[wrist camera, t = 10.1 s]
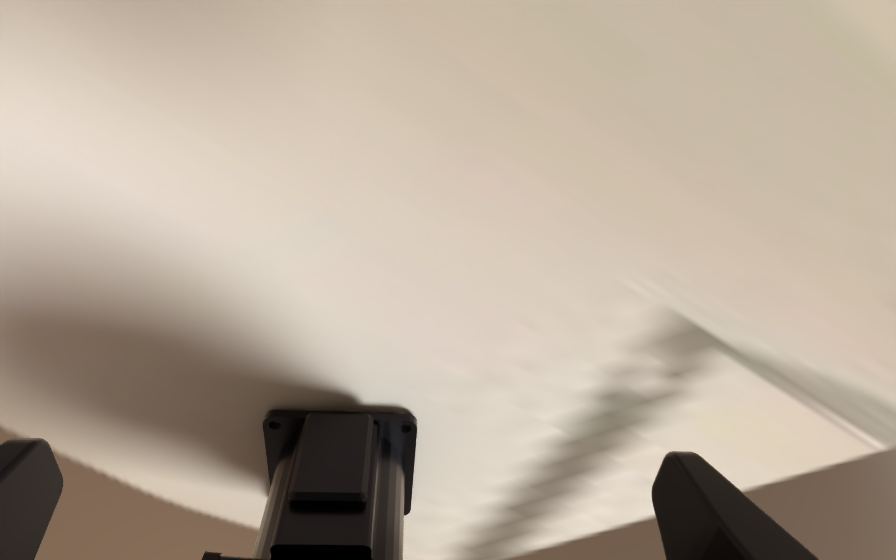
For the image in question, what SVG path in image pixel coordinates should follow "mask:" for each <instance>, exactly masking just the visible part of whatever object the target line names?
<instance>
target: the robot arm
mask: <svg viewBox="0 0 896 560" xmlns="http://www.w3.org/2000/svg"><path fill="white" fill-rule="evenodd" d="M274 421H277V422H279V423H276V422H274ZM402 425H409V426H402ZM263 430H264V438H265V446H266V454H267V462H268V470H269V478H270V486H271V488H270V492H269V496H268V499H267V503H266V507H265V511H264V514H263V518H262V522H261V525H260V529H259V533H258V537H257V540H256V544H255V548H254V551H253V556H252V558H243V557H232V556H222V553H217V552H207V551H206V552H205V553H204V555H203V558H202V560H403V527H404V515H407V514H408V513H409V512H410V510H411V498H412V485H413V473H414V461H415V448H416V436H417V419H416V418H415V417H414V416H413V415H411V414H403V413H367V412H332V411H297V410H272V411H269V412H268V413H267V414H266V415H265V419H264V422H263ZM62 487H63V477H62V474H61V472H60V469H59V467H58V464H57V462H56V460H55V457H54V455H53V452H52V450H51V447H50V445H49V443H48V442H47V441H45V440H44V439H41V438H13V439H10V440H7V441H6V442H3V443H2V444H0V560H34V558H35V556H36V554H37V551H38V549H39V546H40V544H41V541H42V539H43V536H44V534H45V531H46V529H47V527H48V524H49V522H50V520H51V517H52V515H53V512H54V510H55V507H56V505H57V503H58V500H59V498H60V495H61V492H62ZM652 502H653V506H654V511H655V515H656V519H657V523H658V527H659V531H660V535H661V540H662V544H663V548H664V552H665V556H666V560H820V559H819V558H818V557H817V556H815V555H814V554H813V553H812V552H811V551H810V550H809V549H807V548H806V547H805V546H804V545H803V544H802V543H800V542H799V541H798V540H797V539H796V538H795V537H793V536H792V535H791V534H790V533H789V532H788V531H786V530H785V529H784V528H783V527H782V526H781V525H780V524H778V523H777V522H776V521H775V520H774V519H773V518H771V517H770V516H769V515H768V514H767V513H765V511H763V510H762V509H761V508H760V507H759V506H757V505H756V504H755V503H754V502H753V501H752V500H750V499H749V498H748V497H747V496H746V495H745V494H744V493H743V492H741V491H740V490H739V489H738V488H737V487H736V486H734V485H733V484H732V483H731V482H730V481H729V480H727V479H726V478H725V477H724V476H723V475H722V474H720V473H719V472H718V471H717V470H716V469H715V468H714V467H712V466H711V465H710V464H709V463H708V462H707V461H705V460H704V459H703V458H702V457H701V456H699V455H698V454H696V453H694V452H677V451H672V452H669V453H668V454H666V455H665V457H664V459H663V462H662V464H661V466H660V469H659V471H658V474H657V476H656V478H655V481H654V483H653V486H652Z"/></svg>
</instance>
